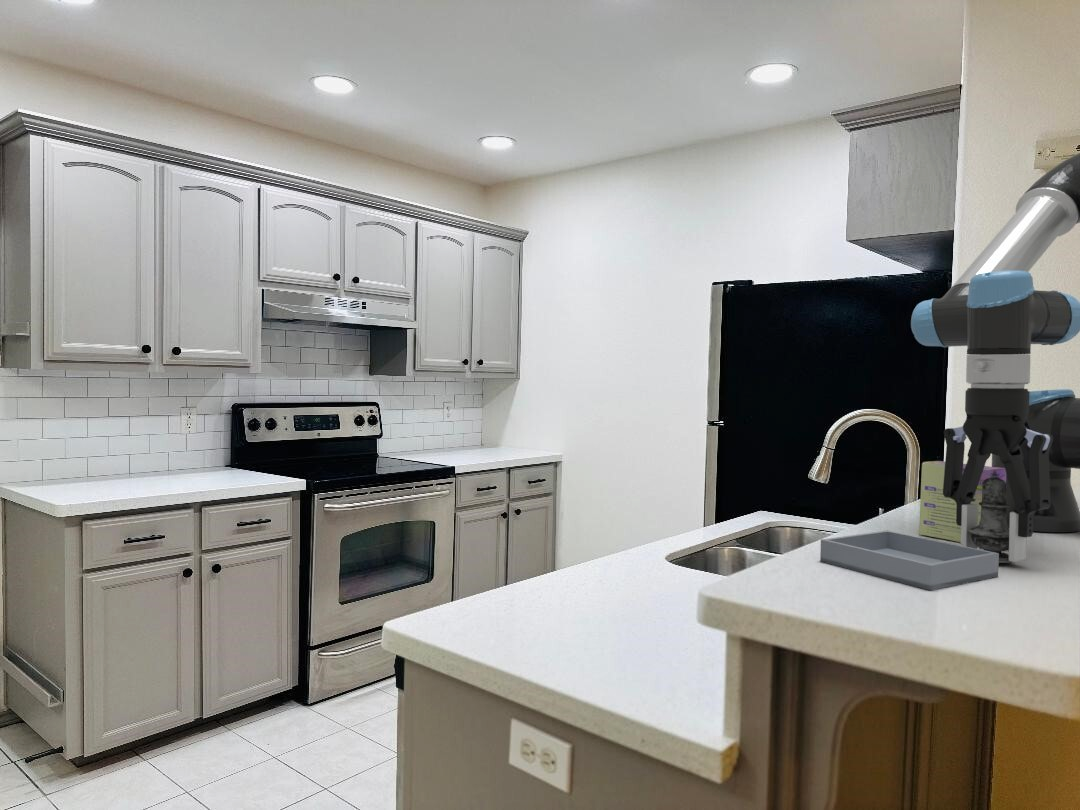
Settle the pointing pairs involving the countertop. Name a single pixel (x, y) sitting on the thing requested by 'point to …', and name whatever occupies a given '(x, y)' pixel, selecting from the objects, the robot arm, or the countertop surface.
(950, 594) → the countertop surface
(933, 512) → the box
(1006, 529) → the salt shaker
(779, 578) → the countertop surface
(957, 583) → the tray
